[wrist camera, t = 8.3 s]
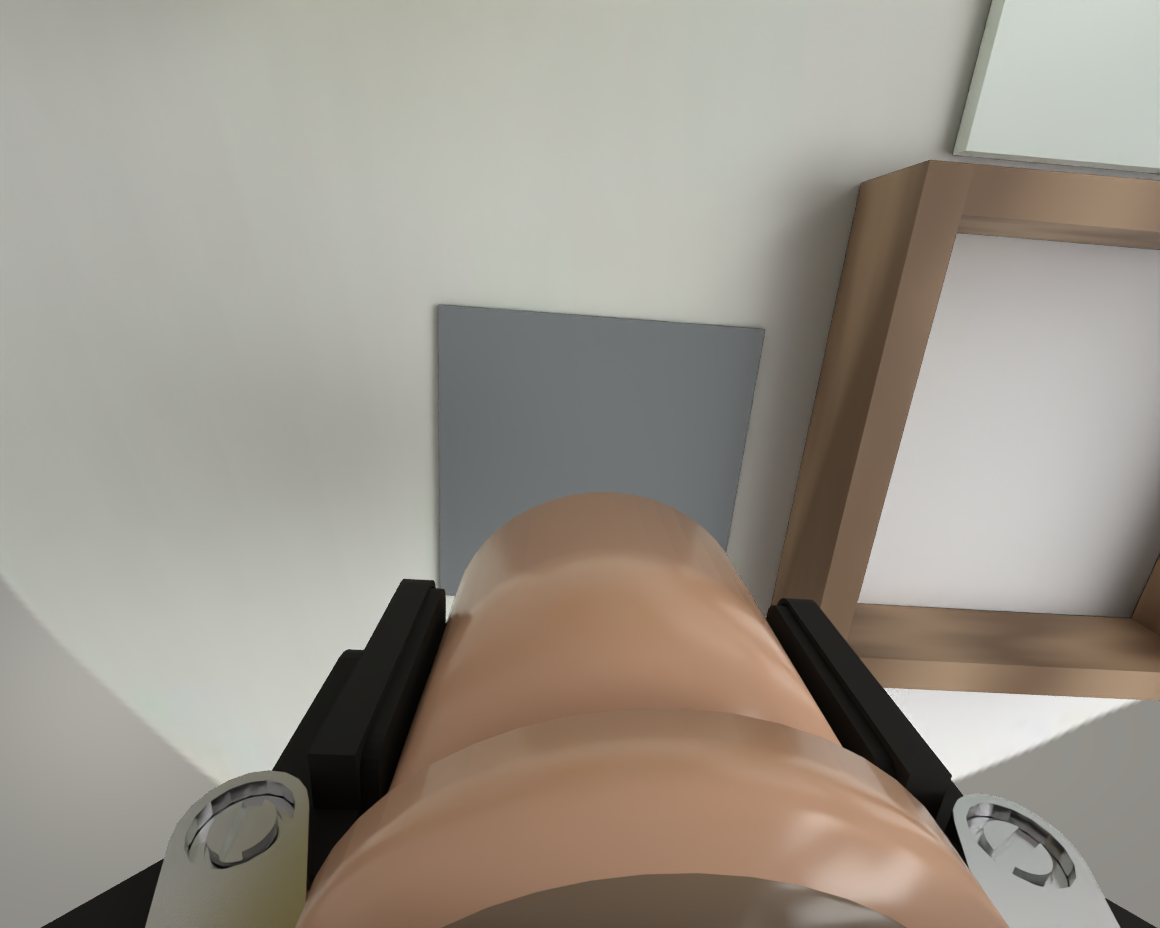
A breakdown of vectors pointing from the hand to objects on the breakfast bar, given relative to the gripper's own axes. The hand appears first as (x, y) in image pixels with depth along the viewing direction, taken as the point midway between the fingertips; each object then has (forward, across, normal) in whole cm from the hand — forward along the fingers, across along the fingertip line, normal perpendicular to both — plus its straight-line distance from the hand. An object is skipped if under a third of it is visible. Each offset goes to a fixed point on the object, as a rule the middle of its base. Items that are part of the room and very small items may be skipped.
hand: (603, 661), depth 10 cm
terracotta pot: (+1, 0, 0) cm, 1 cm away
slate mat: (+11, 0, 0) cm, 11 cm away
